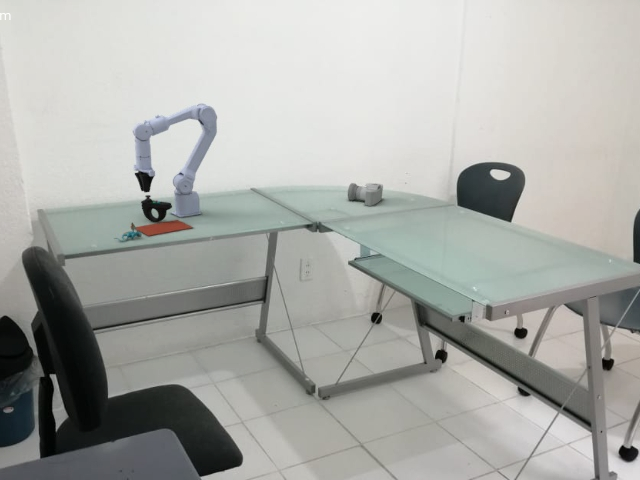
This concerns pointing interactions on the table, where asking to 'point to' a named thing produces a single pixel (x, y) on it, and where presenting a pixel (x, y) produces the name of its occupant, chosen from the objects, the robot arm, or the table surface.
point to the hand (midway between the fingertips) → (145, 191)
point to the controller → (158, 206)
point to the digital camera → (366, 193)
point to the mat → (163, 228)
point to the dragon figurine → (131, 233)
